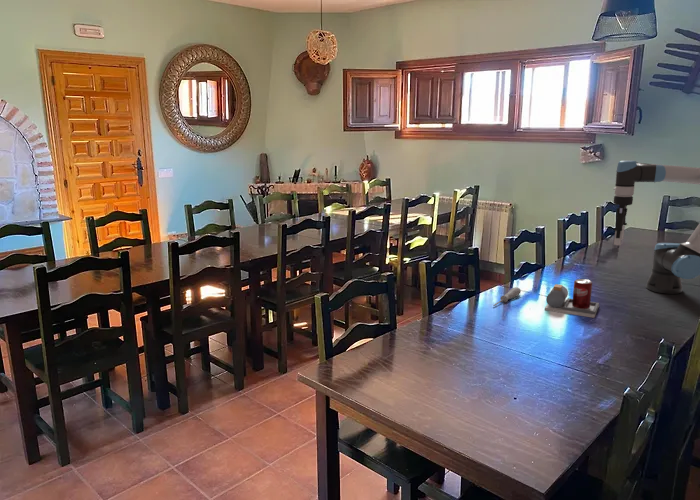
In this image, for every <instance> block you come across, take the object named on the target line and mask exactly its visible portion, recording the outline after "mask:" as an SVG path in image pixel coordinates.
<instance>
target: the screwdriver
mask: <svg viewBox="0 0 700 500" xmlns="http://www.w3.org/2000/svg"><path fill="white" fill-rule="evenodd" d="M521 291H522V290H521V288H520V287H515V286H514V287H512V288H510V289H509V290H508V292H507V293H505V294H504V295H501V296H500V300H499V301H498V302H496V303H495V304H493V307H495V306H497V305H498V304H500V303H501V302H503V303H507V302H508V300H511V299H512V298H516V297H518V296H519V295H520V294H521Z"/></svg>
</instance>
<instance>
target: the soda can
mask: <svg viewBox="0 0 700 500" xmlns="http://www.w3.org/2000/svg"><path fill="white" fill-rule="evenodd" d="M572 290H573V292H572V293H573V294H572V299H573V300H572V306H573V307H574V308H578V309H585V310H586V309H589V308H590V303H591V302H592V290H593V282H592V281H591V280H590V279H586V278H578V279H575V280H574V281H573V289H572Z"/></svg>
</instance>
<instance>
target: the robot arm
mask: <svg viewBox="0 0 700 500" xmlns="http://www.w3.org/2000/svg"><path fill="white" fill-rule="evenodd" d="M615 172H616V174H615V175H616V177H615V187H613V191H614V196H613V204H614V205H618V207H617V208H616V222H615V228H613V231H615V232H614V240H613V246H621V245H622V240H624V237H625V228H626V226H627V223H628V222H626V220H627V219H626V216H627V215H628V214H627V213H628V208H627V207H628V206H632V205H633V202H634V197H633V196H634V194H635V193H634V192H635V184H636V183H661V182H665V183H667V182H668V183H678V184H687V185H689V184H690V185H691V184H692V185H700V167H693V166H682V165H669V164H657V163H647V162H646V163H644V162H637V160H631V159H630V160H626V159H625V160H620V161H618V162H617V165H616V171H615ZM651 267H652V268H651V273H650V275H649V277H648V279H647V281H646V283H645V288H646V289H647V290H649V291H651V292H655V293H660V294H667V295H677V294H681V293H682V292H683V284H682V279H683V280H691V279H696V278H698V277H699V276H700V222H698V225H697V226H696V228H695V229H694V230H693V232H692V233H691V235H690V236H689V238H687V240H686V242H681V243H677V242H675V243H674V242H658V243H656V244H655V246H654V250H653V260H652V266H651Z"/></svg>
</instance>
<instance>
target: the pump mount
mask: <svg viewBox="0 0 700 500" xmlns="http://www.w3.org/2000/svg"><path fill="white" fill-rule="evenodd" d="M568 296H569V291H568V288H567V287H565V286H564V285H563V284H558V283H557V284H554V285H553V287H552V289H551V290H550V291H549V292H548V294H547V295H546V297H545V298H546V303H547V304H546V305H545V306H544V311H548V312H549V311H550V312H555V313H562V314H567V315H573V316H574V315H575V316H581V317H585V318H586V317H588V318H593V319H595V317H596V315H597V312H598V311H599V310H598V309H599V307H600V303H599V302H596V301H591V303H590V308H589V309H586V310H585V309H578V308H574V307H573V306H572V300H573V298H569V297H568ZM567 297H568V298H567Z"/></svg>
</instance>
